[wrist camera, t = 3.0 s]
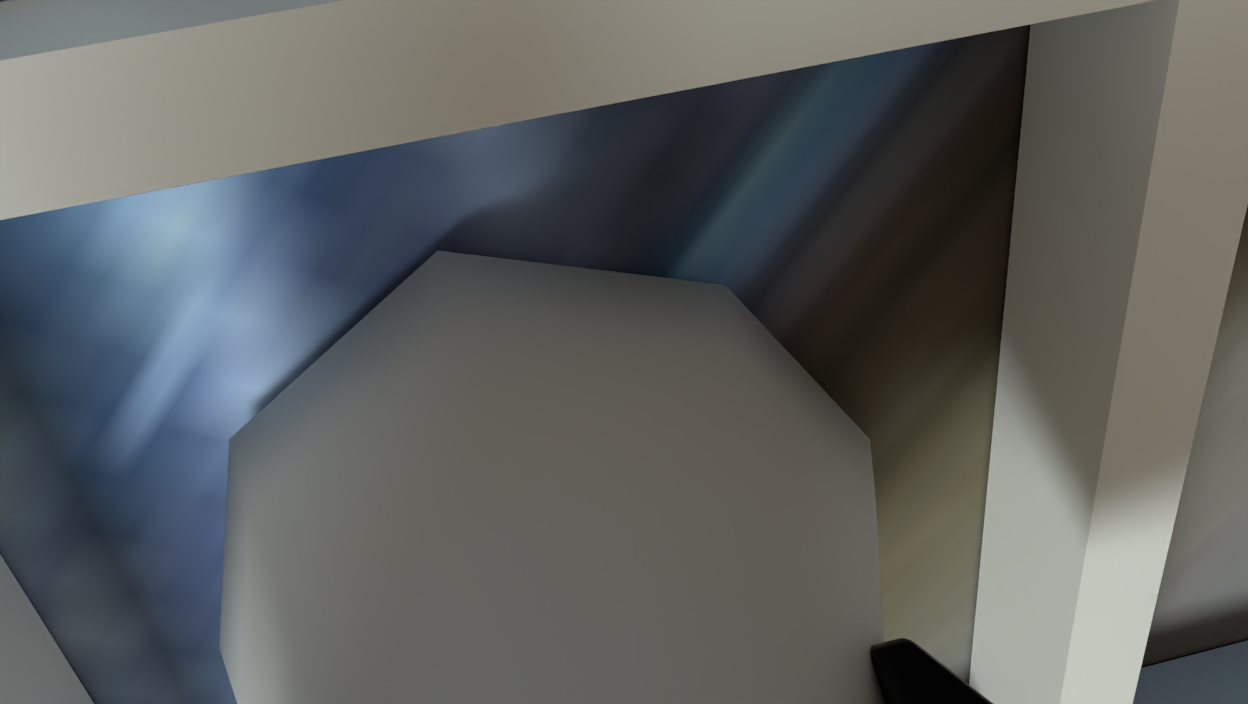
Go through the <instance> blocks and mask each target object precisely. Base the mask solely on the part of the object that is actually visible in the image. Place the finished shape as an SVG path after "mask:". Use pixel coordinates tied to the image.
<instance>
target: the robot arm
mask: <svg viewBox="0 0 1248 704" xmlns="http://www.w3.org/2000/svg"><path fill="white" fill-rule="evenodd" d="M871 659H872V662H873V665H874V668H875V671H876V674H877V677H878V680H879V683H880V687H881V690H882V693H883V696H884V699H885V702H886V704H993V703H992V702H991V701H989V700H988V699H987V698H985V697H984V696H983V695H982V694H980V693H979V692H978V691H976V690H975V689H974V688H973V687H971V686H970V685H969V684H967V683H966V682H965V681H963V680H962V679H961V678H960V677H958V676H957V675H956V674H954V673H953V672H952V671H951V670H949V669H948V668H947V667H945V666H944V665H943V664H942V663H940V662H939V661H938V660H936V659H935V658H934V657H933V656H931V655H930V654H929V653H927V652H926V651H925V650H924V649H922V648H921V647H920V646H918V645H917V644H916V643H914V642H913V641H911V640H908V639H905V638H899V639H895V640H891V641H887V642H883V643H879V644H875V645H873V646H872V647H871Z"/></svg>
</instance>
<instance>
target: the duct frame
mask: <svg viewBox="0 0 1248 704" xmlns="http://www.w3.org/2000/svg"><path fill="white" fill-rule="evenodd" d="M1030 24H1031V27H1030V37H1029V48H1028V59H1027V69H1026V80H1025V91H1024V101H1023V112H1022V123H1021V133H1020V144H1019V155H1018V166H1017V176H1016V187H1015V198H1014V208H1013V219H1012V230H1011V240H1010V251H1009V262H1008V272H1007V283H1006V294H1005V305H1004V315H1003V326H1002V337H1001V347H1000V358H999V369H998V379H997V390H996V401H995V411H994V422H993V433H992V444H991V454H990V465H989V476H988V486H987V497H986V508H985V518H984V529H983V540H982V550H981V561H980V572H979V583H978V593H977V604H976V615H975V625H974V636H973V647H972V657H971V668H970V679H969V685H970V686H971V687H973V688H974V689H975V690H976V691H978V692H979V693H980V694H982V695H983V696H984V697H985V698H987V699H988V700H989V701H991V702H992V703H993V704H1248V640H1247V641H1244V642H1240V643H1236V644H1232V645H1228V646H1224V647H1221V648H1217V649H1213V650H1209V651H1205V652H1201V653H1198V654H1194V655H1190V656H1186V657H1182V658H1178V659H1175V660H1171V661H1167V662H1163V663H1159V664H1155V665H1152V666H1148V667H1144V668H1141V666H1142V661H1143V657H1144V653H1145V648H1146V644H1147V640H1148V635H1149V631H1150V627H1151V622H1152V618H1153V614H1154V609H1155V605H1156V600H1157V596H1158V592H1159V587H1160V583H1161V579H1162V574H1163V570H1164V566H1165V561H1166V557H1167V553H1168V548H1169V544H1170V540H1171V535H1172V531H1173V527H1174V522H1175V518H1176V514H1177V509H1178V505H1179V501H1180V496H1181V492H1182V488H1183V483H1184V479H1185V475H1186V470H1187V466H1188V462H1189V457H1190V453H1191V449H1192V444H1193V440H1194V436H1195V431H1196V427H1197V422H1198V418H1199V414H1200V409H1201V405H1202V401H1203V396H1204V392H1205V388H1206V383H1207V379H1208V375H1209V370H1210V366H1211V362H1212V357H1213V353H1214V349H1215V344H1216V340H1217V336H1218V331H1219V327H1220V323H1221V318H1222V314H1223V310H1224V305H1225V301H1226V297H1227V292H1228V288H1229V284H1230V279H1231V275H1232V271H1233V266H1234V262H1235V258H1236V253H1237V249H1238V245H1239V240H1240V236H1241V231H1242V227H1243V223H1244V218H1245V214H1246V210H1247V205H1248V0H7V1H1V2H0V220H4V219H9V218H14V217H20V216H25V215H30V214H35V213H41V212H46V211H51V210H57V209H62V208H67V207H72V206H78V205H83V204H88V203H93V202H99V201H104V200H109V199H114V198H120V197H125V196H130V195H135V194H141V193H146V192H151V191H156V190H162V189H167V188H172V187H177V186H183V185H188V184H193V183H199V182H204V181H209V180H214V179H220V178H225V177H230V176H235V175H241V174H246V173H251V172H256V171H262V170H267V169H272V168H277V167H283V166H288V165H293V164H298V163H304V162H309V161H314V160H320V159H325V158H330V157H335V156H341V155H346V154H351V153H356V152H362V151H367V150H372V149H377V148H383V147H388V146H393V145H398V144H404V143H409V142H414V141H419V140H425V139H430V138H435V137H441V136H446V135H451V134H456V133H462V132H467V131H472V130H477V129H483V128H488V127H493V126H498V125H504V124H509V123H514V122H519V121H525V120H530V119H535V118H540V117H546V116H551V115H556V114H562V113H567V112H572V111H577V110H583V109H588V108H593V107H598V106H604V105H609V104H614V103H619V102H625V101H630V100H635V99H640V98H646V97H651V96H656V95H661V94H667V93H672V92H677V91H683V90H688V89H693V88H698V87H704V86H709V85H714V84H719V83H725V82H730V81H735V80H740V79H746V78H751V77H756V76H761V75H767V74H772V73H777V72H782V71H788V70H793V69H798V68H803V67H809V66H814V65H819V64H825V63H830V62H835V61H840V60H846V59H851V58H856V57H861V56H867V55H872V54H877V53H882V52H888V51H893V50H898V49H903V48H909V47H914V46H919V45H924V44H930V43H935V42H940V41H946V40H951V39H956V38H961V37H967V36H972V35H977V34H982V33H988V32H993V31H998V30H1003V29H1009V28H1014V27H1019V26H1024V25H1030ZM0 704H94V703H93V701H92V699H91V698H90V696H89V695H88V693H87V692H86V690H85V688H84V687H83V685H82V684H81V682H80V680H79V679H78V677H77V676H76V674H75V672H74V671H73V669H72V668H71V666H70V664H69V663H68V661H67V660H66V658H65V656H64V655H63V653H62V652H61V650H60V649H59V647H58V645H57V644H56V642H55V641H54V639H53V637H52V636H51V634H50V633H49V631H48V629H47V628H46V626H45V625H44V623H43V621H42V620H41V618H40V617H39V615H38V614H37V612H36V610H35V609H34V607H33V606H32V604H31V602H30V601H29V599H28V598H27V596H26V594H25V593H24V591H23V590H22V588H21V586H20V585H19V583H18V582H17V580H16V578H15V577H14V575H13V574H12V572H11V571H10V569H9V567H8V566H7V564H6V563H5V561H4V559H3V558H2V556H1V555H0Z"/></svg>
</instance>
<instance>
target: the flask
mask: <svg viewBox="0 0 1248 704" xmlns="http://www.w3.org/2000/svg"><path fill="white" fill-rule="evenodd" d="M879 643H883V625H882V606H881V587H880V567H879V548H878V529H877V510H876V496H875V486H874V475H873V465H872V455H871V444H870V439H869V438H868V437H867V436H866V434H865V433H864V432H863V431H862V430H861V429H860V428H859V427H858V426H857V425H856V424H855V423H854V422H853V421H852V420H851V418H850V417H849V416H848V415H847V414H846V413H845V412H844V411H843V410H842V409H841V408H840V407H839V406H838V405H837V404H836V402H835V401H834V400H833V399H832V398H831V397H830V396H829V395H828V394H827V393H826V392H825V391H824V390H823V389H822V388H821V386H820V385H819V384H818V383H817V382H816V381H815V380H814V379H813V378H812V377H811V376H810V375H809V374H808V373H807V372H806V370H805V369H804V368H803V367H802V366H801V365H800V364H799V363H798V362H797V361H796V360H795V359H794V358H793V357H792V356H791V354H790V353H789V352H788V351H787V350H786V349H785V348H784V347H783V346H782V345H781V344H780V343H779V342H778V341H777V340H776V338H775V337H774V336H773V335H772V334H771V333H770V332H769V331H768V330H767V329H766V328H765V327H764V326H763V325H762V324H761V322H760V321H759V320H758V319H757V318H756V317H755V316H754V315H753V314H752V313H751V312H750V311H749V310H748V309H747V308H746V306H745V305H744V304H743V303H742V302H741V301H740V300H739V299H738V298H737V297H736V296H735V295H734V294H733V293H732V292H731V290H730V289H729V288H728V287H727V286H726V285H722V284H714V283H706V282H697V281H689V280H680V279H672V278H664V277H655V276H647V275H638V274H630V273H622V272H613V271H605V270H596V269H588V268H580V267H571V266H563V265H555V264H546V263H538V262H529V261H521V260H513V259H504V258H496V257H487V256H479V255H471V254H462V253H454V252H445V251H437V252H436V253H434V254H433V255H432V256H431V257H430V258H429V259H428V260H427V261H426V262H424V263H423V264H422V265H421V266H420V267H419V268H418V269H417V270H416V271H415V272H413V273H412V274H411V275H410V276H409V277H408V278H407V279H406V280H405V281H404V282H402V283H401V284H400V285H399V286H398V287H397V288H396V289H395V290H394V291H392V292H391V293H390V294H389V295H388V296H387V297H386V298H385V299H384V300H383V301H381V302H380V303H379V304H378V305H377V306H376V307H375V308H374V309H373V310H372V311H370V312H369V313H368V314H367V315H366V316H365V317H364V318H363V319H362V320H360V321H359V322H358V323H357V324H356V325H355V326H354V327H353V328H352V329H351V330H349V331H348V332H347V333H346V334H345V335H344V336H343V337H342V338H341V339H339V340H338V341H337V342H336V343H335V344H334V345H333V346H332V347H331V348H330V349H328V350H327V351H326V352H325V353H324V354H323V355H322V356H321V357H320V358H319V359H317V360H316V361H315V362H314V363H313V364H312V365H311V366H310V367H309V368H307V369H306V370H305V371H304V372H303V373H302V374H301V375H300V376H299V377H298V378H296V379H295V380H294V381H293V382H292V383H291V384H290V385H289V386H288V387H287V388H285V389H284V390H283V391H282V392H281V393H280V394H279V395H278V396H277V397H275V398H274V399H273V400H272V401H271V402H270V403H269V404H268V405H267V406H266V407H264V408H263V409H262V410H261V411H260V412H259V413H258V414H257V415H256V416H254V417H253V418H252V419H251V420H250V421H249V422H248V423H247V424H246V425H245V426H243V427H242V428H241V429H240V430H239V431H238V432H237V433H236V434H235V435H234V436H232V437H231V438H230V440H229V460H228V480H227V500H226V520H225V541H224V561H223V581H222V601H221V621H220V641H219V648H220V651H221V655H222V658H223V661H224V664H225V667H226V670H227V673H228V676H229V679H230V683H231V686H232V689H233V692H234V695H235V698H236V701H237V704H886V702H885V699H884V696H883V693H882V690H881V687H880V683H879V680H878V677H877V674H876V671H875V668H874V665H873V662H872V659H871V647H872V646H873V645H875V644H879Z"/></svg>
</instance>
